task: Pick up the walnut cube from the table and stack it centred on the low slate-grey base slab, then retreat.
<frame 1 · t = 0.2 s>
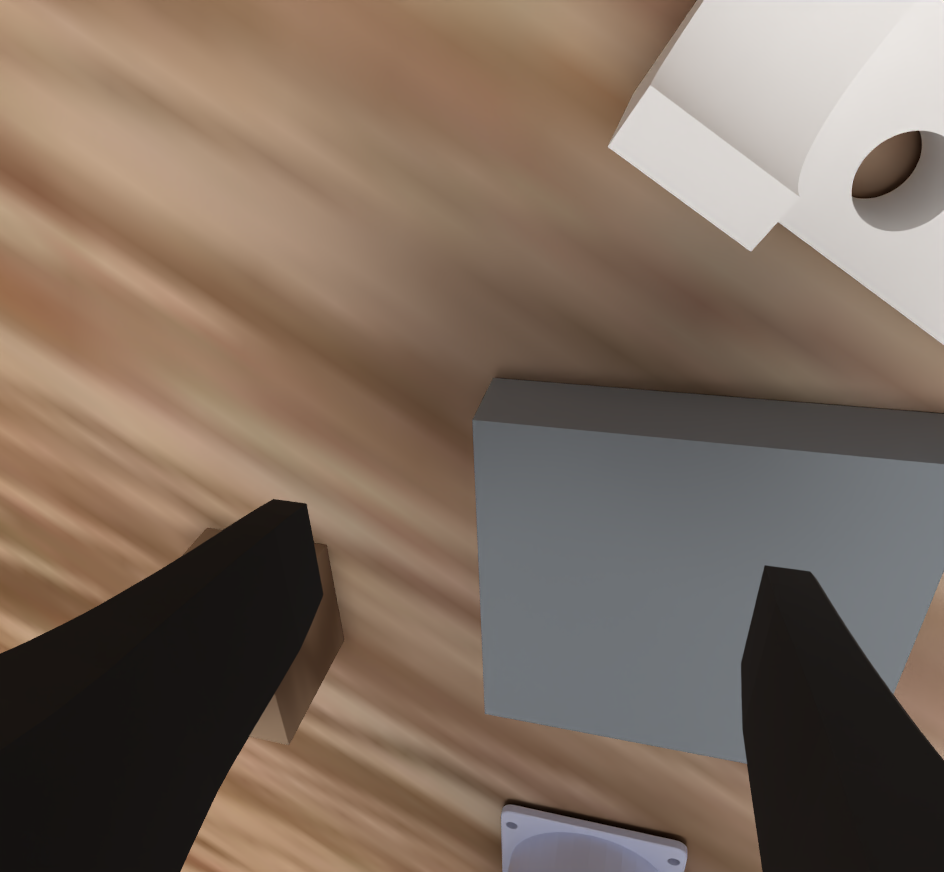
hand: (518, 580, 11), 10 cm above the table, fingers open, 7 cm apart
base slab: (680, 561, 23), on the table
walnut cube: (278, 583, 28), on the table
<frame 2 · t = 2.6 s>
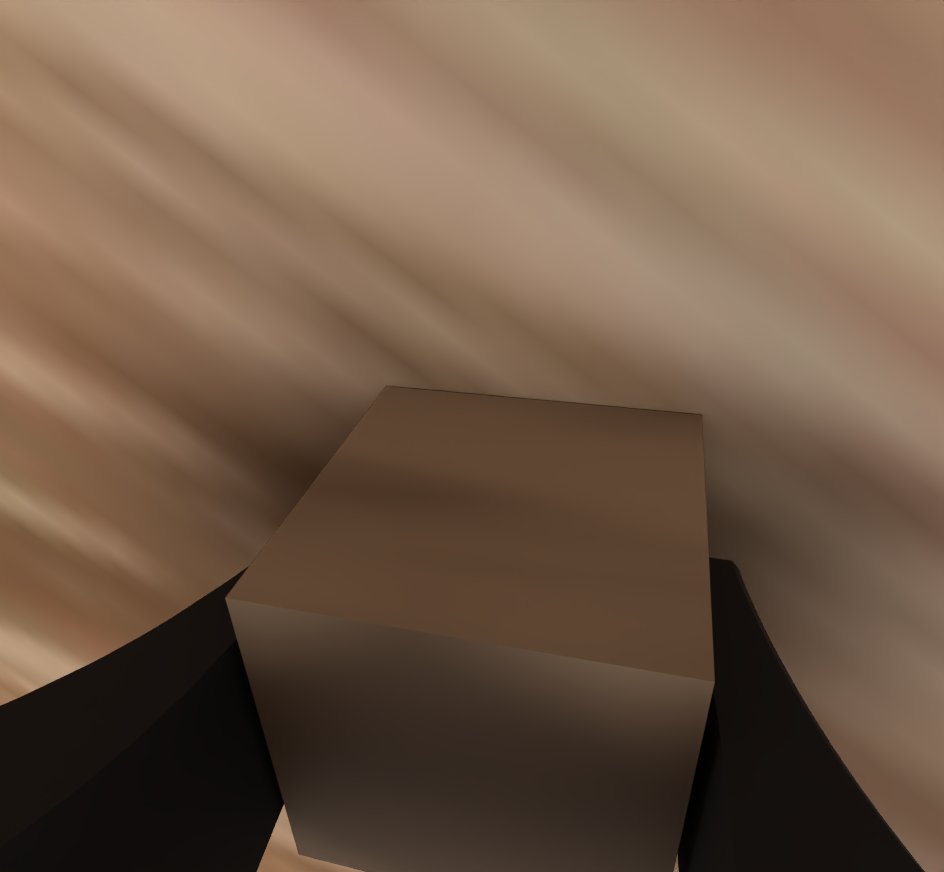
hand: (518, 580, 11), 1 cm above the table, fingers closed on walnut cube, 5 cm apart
walnut cube: (533, 525, 12), on the table, touching gripper
when the fingers open (5 cm above the table, at t = 6.1 s): walnut cube stays where it is, resting on base slab.
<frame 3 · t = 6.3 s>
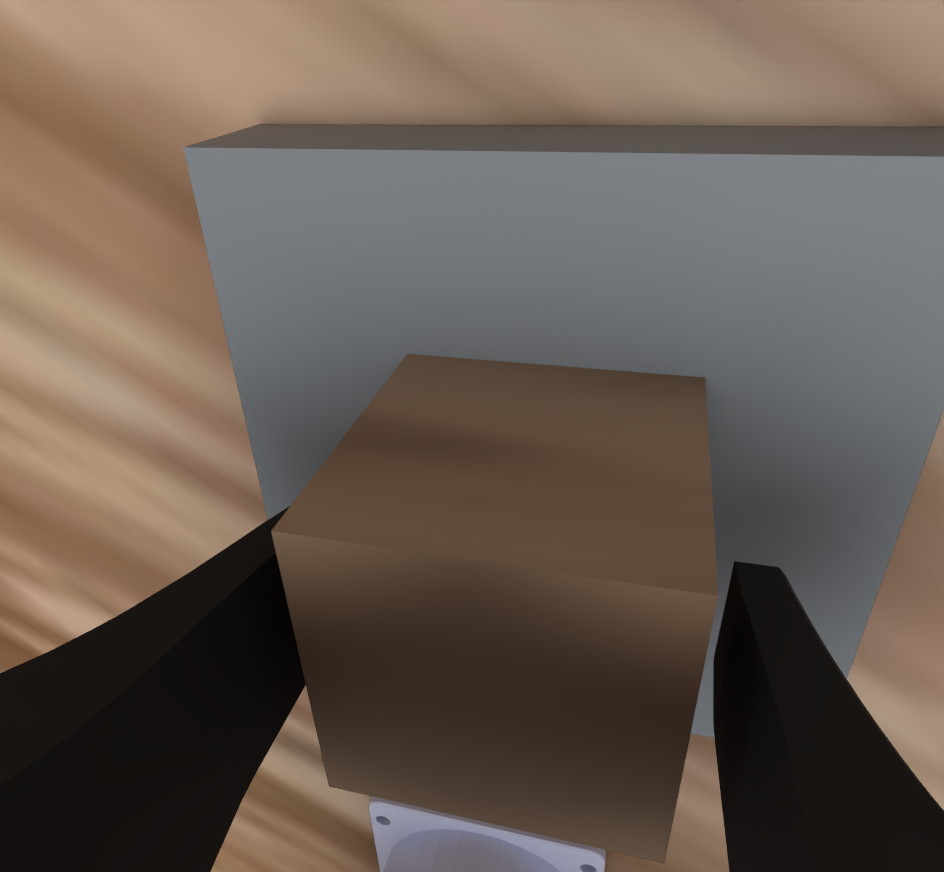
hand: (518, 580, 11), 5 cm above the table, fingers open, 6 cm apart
base slab: (562, 426, 15), on the table
walnut cube: (545, 487, 13), point 2 cm above the table, touching base slab
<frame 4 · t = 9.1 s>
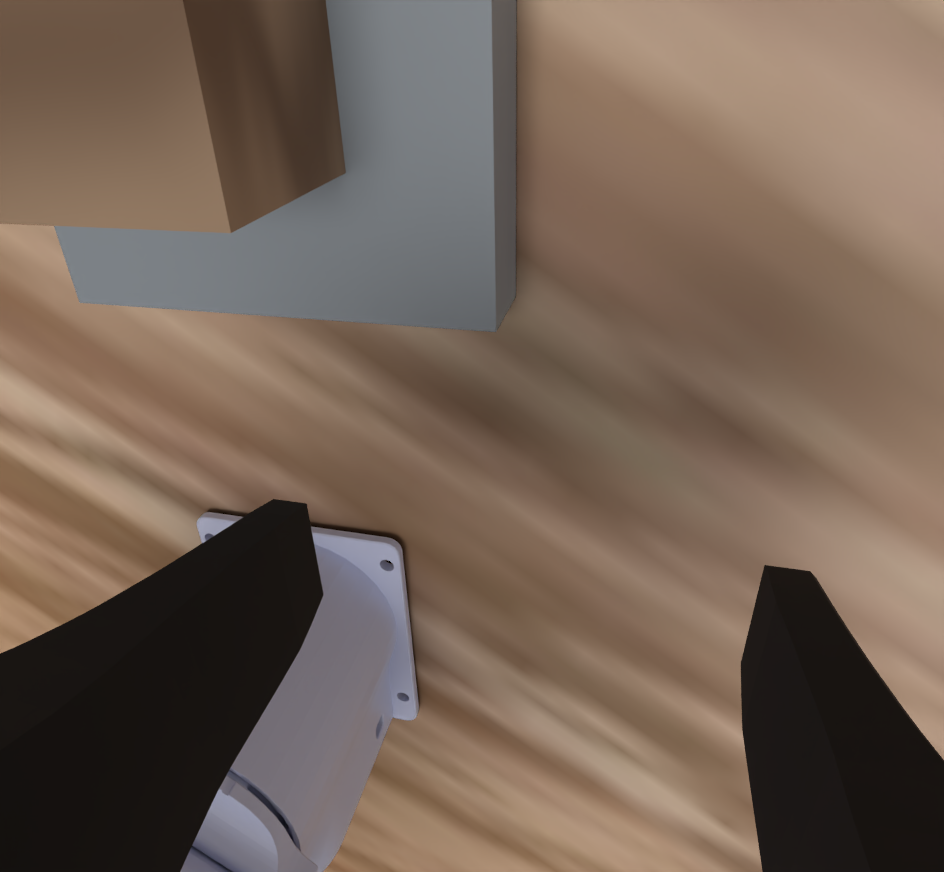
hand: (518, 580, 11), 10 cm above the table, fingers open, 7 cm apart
base slab: (278, 50, 18), on the table
walnut cube: (224, 50, 15), point 2 cm above the table, touching base slab
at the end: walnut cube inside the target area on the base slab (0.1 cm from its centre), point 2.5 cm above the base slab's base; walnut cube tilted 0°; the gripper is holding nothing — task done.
